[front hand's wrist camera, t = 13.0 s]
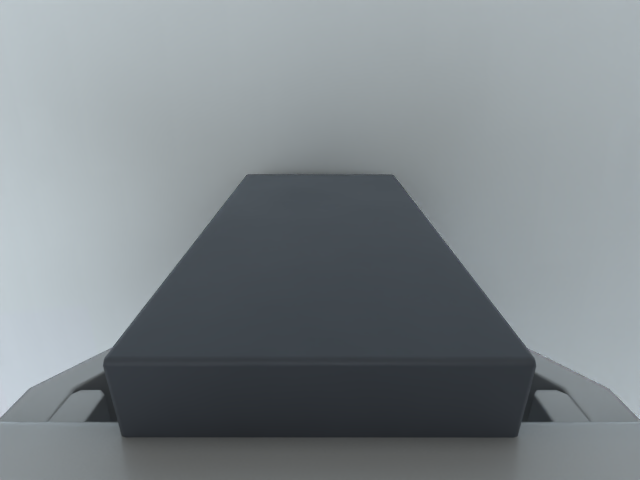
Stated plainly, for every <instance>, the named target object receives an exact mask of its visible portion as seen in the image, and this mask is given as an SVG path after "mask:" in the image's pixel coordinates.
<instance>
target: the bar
mask: <svg viewBox="0 0 640 480" xmlns="http://www.w3.org/2000/svg"><path fill="white" fill-rule="evenodd" d="M103 368H104V372H105V376H106V379H107V383H108V387H109V391H110V394H111V398H112V402H113V406H114V409H115V413H116V417H117V421H118V424H119V428H120V432H121V436H123V437H382V438H514V437H517V436H518V433H519V429H520V426H521V422H522V418H523V414H524V411H525V407H526V403H527V399H528V396H529V392H530V388H531V384H532V381H533V377H534V373H535V369H536V361H535V358H534V357H533V355H532V354H531V353H530V351H529V350H528V349H527V348H526V346H525V345H524V344H523V342H522V341H521V340H520V338H519V337H518V336H517V335H516V333H515V332H514V331H513V329H512V328H511V327H510V326H509V324H508V323H507V322H506V320H505V319H504V318H503V316H502V315H501V314H500V313H499V311H498V310H497V309H496V307H495V306H494V305H493V304H492V302H491V301H490V300H489V298H488V297H487V296H486V294H485V293H484V292H483V291H482V289H481V288H480V287H479V285H478V284H477V283H476V282H475V280H474V279H473V278H472V276H471V275H470V274H469V272H468V271H467V270H466V269H465V267H464V266H463V265H462V263H461V262H460V261H459V259H458V258H457V257H456V256H455V254H454V253H453V252H452V250H451V249H450V248H449V247H448V245H447V244H446V243H445V241H444V240H443V239H442V237H441V236H440V235H439V234H438V232H437V231H436V230H435V228H434V227H433V226H432V225H431V223H430V222H429V221H428V219H427V218H426V217H425V215H424V214H423V213H422V212H421V210H420V209H419V208H418V206H417V205H416V204H415V203H414V201H413V200H412V199H411V197H410V196H409V195H408V193H407V192H406V191H405V190H404V188H403V187H402V186H401V184H400V183H399V182H398V181H397V179H396V178H395V177H394V175H313V174H248V175H246V177H245V178H244V179H243V181H242V182H241V183H240V184H239V186H238V187H237V188H236V190H235V191H234V192H233V193H232V195H231V196H230V197H229V198H228V200H227V201H226V202H225V204H224V205H223V206H222V207H221V209H220V210H219V211H218V213H217V214H216V215H215V216H214V218H213V219H212V220H211V222H210V223H209V224H208V225H207V227H206V228H205V229H204V231H203V232H202V233H201V234H200V236H199V237H198V238H197V240H196V241H195V242H194V243H193V245H192V246H191V247H190V249H189V250H188V251H187V252H186V254H185V255H184V256H183V258H182V259H181V260H180V261H179V263H178V264H177V265H176V267H175V268H174V269H173V270H172V272H171V273H170V274H169V276H168V277H167V278H166V279H165V281H164V282H163V283H162V285H161V286H160V287H159V288H158V290H157V291H156V292H155V294H154V295H153V296H152V297H151V299H150V300H149V301H148V303H147V304H146V305H145V306H144V308H143V309H142V310H141V312H140V313H139V314H138V315H137V317H136V318H135V319H134V321H133V322H132V323H131V324H130V326H129V327H128V328H127V330H126V331H125V332H124V333H123V335H122V336H121V337H120V339H119V340H118V341H117V342H116V344H115V345H114V346H113V348H112V349H111V350H110V351H109V353H108V354H107V355H106V357H105V358H104V362H103Z"/></svg>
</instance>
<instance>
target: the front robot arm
mask: <svg viewBox="0 0 640 480" xmlns="http://www.w3.org/2000/svg"><path fill="white" fill-rule="evenodd" d="M112 348H113V347H112ZM112 348H110V349H108V350H106V351H104V352H102V353H100V354H98V355H96V356H94V357H92V358H90V359H88V360H86V361H84V362H82V363H80V364H78V365H76V366H74V367H72V368H70V369H68V370H66V371H64V372H62V373H60V374H58V375H56V376H54V377H52V378H50V379H48V380H46V381H44V382H42V383H40V384H38V385H35V386H33V387H31V388H29V389H28V390H27V391H26V392H25V394H24V395H23V396H22V397H21V398H20V399H19V400H18V401H17V402H16V403H15V404H14V405H13V406H12V407H11V408H10V409H9V410H8V411H7V412H6V413H5V414H4V415H3V416H2V417H1V418H0V480H640V420H639V419H638V418H637V417H636V416H635V415H634V414H633V413H632V412H631V411H630V409H629V408H628V407H627V406H626V405H625V404H624V403H623V402H622V401H621V400H620V399H619V398H618V397H617V396H616V395H615V394H614V393H613V392H612V391H611V390H610V389H608V388H606V387H604V386H602V385H600V384H598V383H596V382H594V381H592V380H590V379H588V378H586V377H584V376H582V375H580V374H578V373H576V372H574V371H572V370H570V369H568V368H566V367H564V366H562V365H560V364H558V363H556V362H554V361H552V360H550V359H548V358H546V357H544V356H542V355H540V354H538V353H536V352H534V351H532V350H530V349H528V348H527V349H528V350H529V351H530V353H531V354H532V355H533V357H534V358H535V361H536V369H535V373H534V377H533V381H532V384H531V388H530V392H529V396H528V399H527V403H526V407H525V411H524V414H523V418H522V422H521V426H520V429H519V433H518V436H517V437H514V438H382V437H123V436H121V432H120V428H119V424H118V421H117V417H116V413H115V409H114V406H113V402H112V398H111V394H110V391H109V387H108V383H107V379H106V376H105V372H104V368H103V362H104V358H105V357H106V355H107V354H108V353H109V351H110V350H111V349H112Z"/></svg>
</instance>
